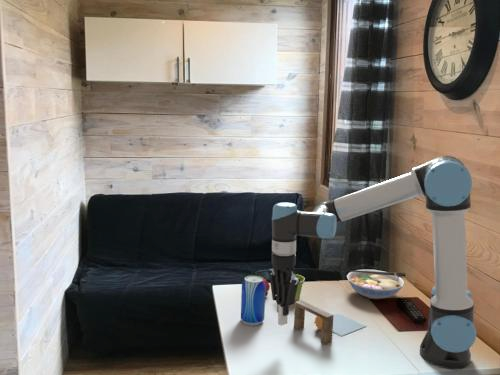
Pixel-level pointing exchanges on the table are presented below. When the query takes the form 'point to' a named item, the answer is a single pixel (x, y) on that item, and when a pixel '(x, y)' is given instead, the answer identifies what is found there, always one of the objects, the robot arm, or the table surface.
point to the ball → (318, 322)
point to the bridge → (326, 317)
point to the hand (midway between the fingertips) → (282, 323)
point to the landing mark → (345, 325)
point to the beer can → (253, 300)
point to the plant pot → (299, 286)
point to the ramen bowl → (375, 283)
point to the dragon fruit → (266, 287)
